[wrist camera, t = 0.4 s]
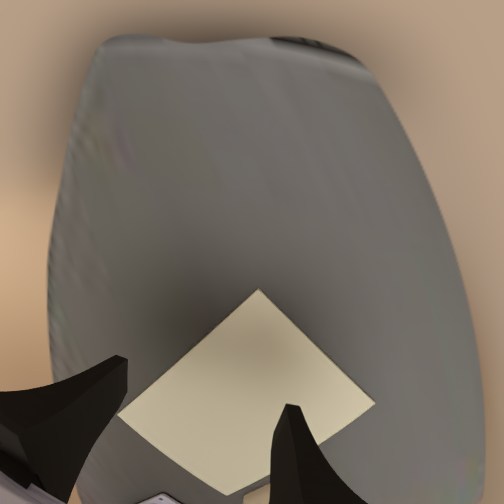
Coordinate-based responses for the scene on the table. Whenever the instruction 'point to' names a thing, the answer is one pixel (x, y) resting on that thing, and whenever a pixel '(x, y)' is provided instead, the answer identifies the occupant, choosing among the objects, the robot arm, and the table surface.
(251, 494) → the card deck box
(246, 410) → the mat
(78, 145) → the table surface
